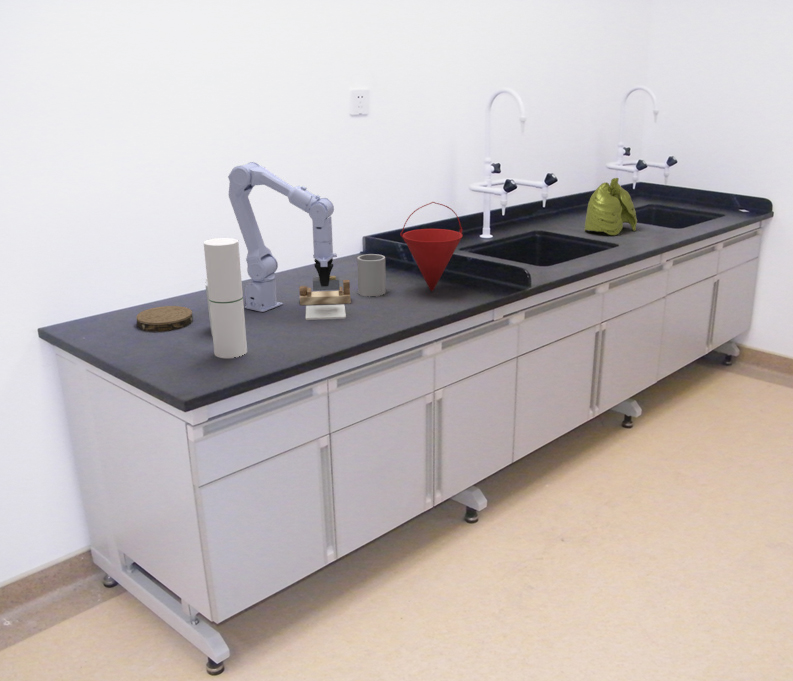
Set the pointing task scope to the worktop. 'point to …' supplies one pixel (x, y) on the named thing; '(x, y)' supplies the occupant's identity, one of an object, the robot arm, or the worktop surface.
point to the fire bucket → (432, 249)
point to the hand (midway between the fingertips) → (324, 284)
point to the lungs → (610, 209)
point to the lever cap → (332, 285)
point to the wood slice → (164, 318)
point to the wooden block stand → (325, 295)
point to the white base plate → (325, 312)
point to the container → (225, 297)
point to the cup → (371, 275)
